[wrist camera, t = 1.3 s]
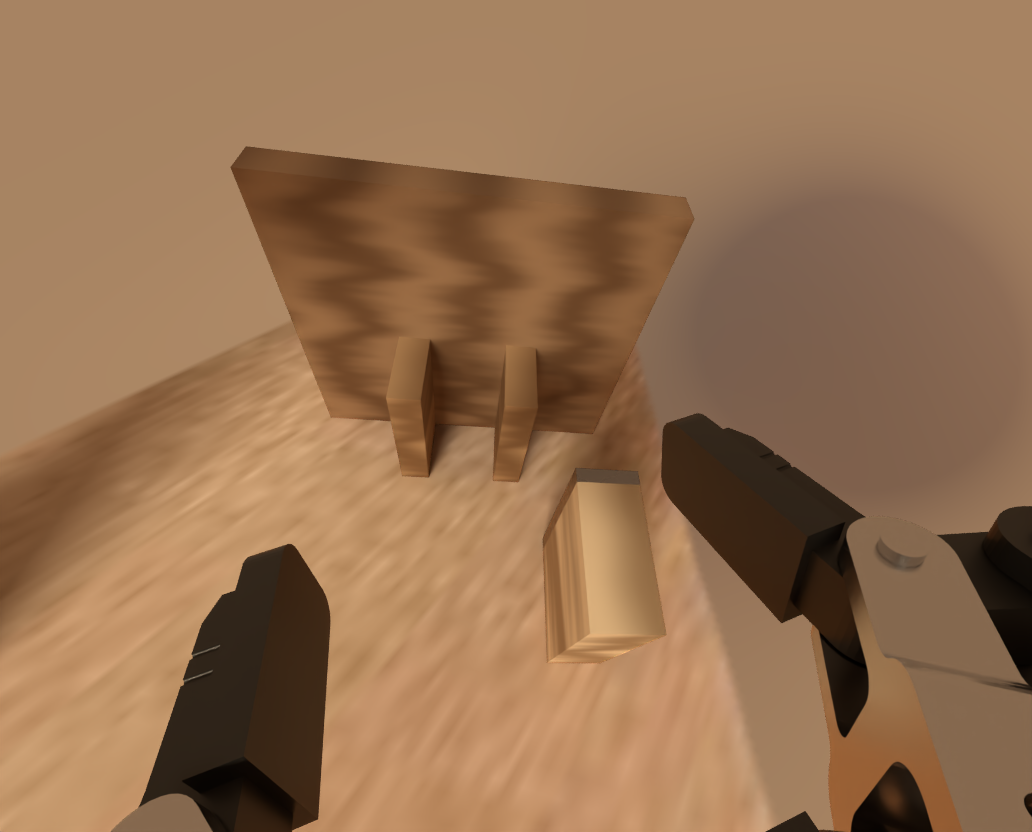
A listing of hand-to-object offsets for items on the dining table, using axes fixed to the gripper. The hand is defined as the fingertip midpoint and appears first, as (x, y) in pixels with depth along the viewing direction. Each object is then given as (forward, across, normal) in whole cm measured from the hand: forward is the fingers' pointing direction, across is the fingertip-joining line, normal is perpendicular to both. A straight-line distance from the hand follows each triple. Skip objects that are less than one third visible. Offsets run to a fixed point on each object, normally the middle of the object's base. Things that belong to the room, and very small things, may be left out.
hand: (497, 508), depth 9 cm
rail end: (+11, -4, +21) cm, 24 cm away
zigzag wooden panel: (+23, -1, +14) cm, 27 cm away
